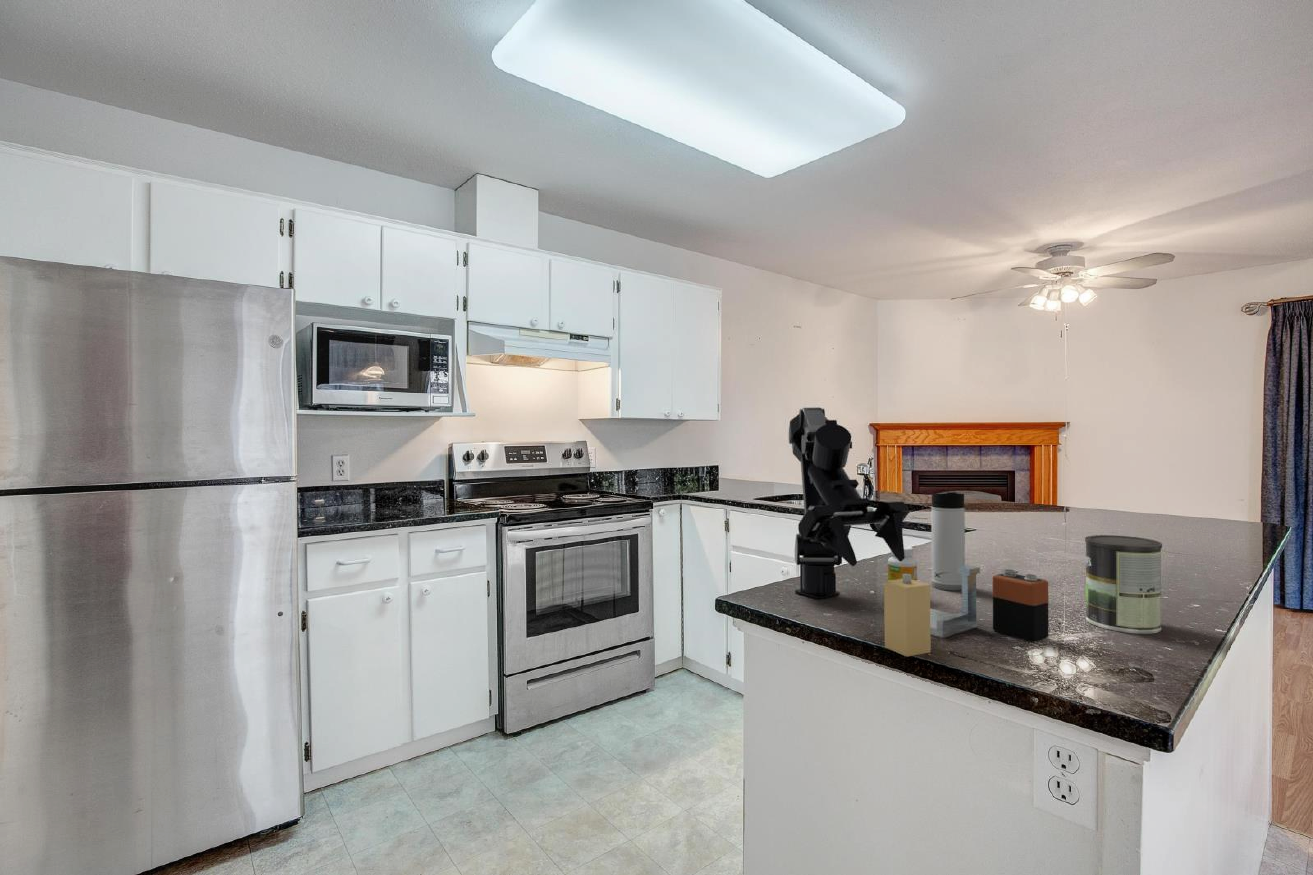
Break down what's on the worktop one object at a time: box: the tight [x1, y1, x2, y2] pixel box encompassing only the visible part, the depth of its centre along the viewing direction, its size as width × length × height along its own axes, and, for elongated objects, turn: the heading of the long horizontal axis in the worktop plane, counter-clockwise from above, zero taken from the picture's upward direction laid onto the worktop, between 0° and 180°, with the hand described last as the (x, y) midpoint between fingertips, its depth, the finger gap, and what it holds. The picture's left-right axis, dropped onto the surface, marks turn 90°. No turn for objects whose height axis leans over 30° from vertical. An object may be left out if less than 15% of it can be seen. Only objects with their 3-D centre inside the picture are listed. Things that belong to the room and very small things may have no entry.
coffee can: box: [1084, 534, 1163, 635], centre depth 105 cm, size 10×10×14 cm
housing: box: [883, 574, 932, 658], centre depth 94 cm, size 4×4×11 cm
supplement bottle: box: [887, 545, 918, 581], centre depth 124 cm, size 5×5×10 cm
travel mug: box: [930, 491, 966, 592], centre depth 131 cm, size 6×7×20 cm
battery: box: [992, 568, 1049, 642], centre depth 101 cm, size 4×7×10 cm, turn 29°
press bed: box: [930, 564, 981, 639], centre depth 106 cm, size 10×10×10 cm
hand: (878, 562), depth 99 cm, fingers open, 9 cm apart
